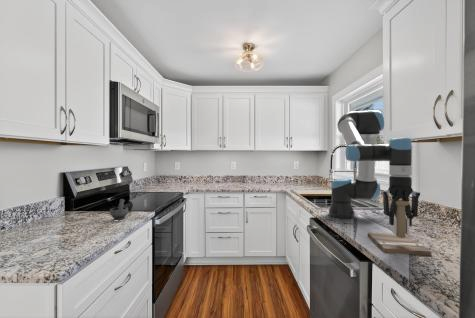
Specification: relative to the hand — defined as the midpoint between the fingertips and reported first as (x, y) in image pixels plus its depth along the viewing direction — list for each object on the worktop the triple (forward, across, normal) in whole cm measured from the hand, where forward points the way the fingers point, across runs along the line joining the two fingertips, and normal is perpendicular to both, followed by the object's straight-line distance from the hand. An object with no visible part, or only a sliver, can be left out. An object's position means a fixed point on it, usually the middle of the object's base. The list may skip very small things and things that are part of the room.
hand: (400, 233), depth 97 cm
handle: (+2, 0, 0) cm, 2 cm away
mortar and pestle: (+6, -145, +17) cm, 146 cm away
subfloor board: (+6, 0, +4) cm, 7 cm away
